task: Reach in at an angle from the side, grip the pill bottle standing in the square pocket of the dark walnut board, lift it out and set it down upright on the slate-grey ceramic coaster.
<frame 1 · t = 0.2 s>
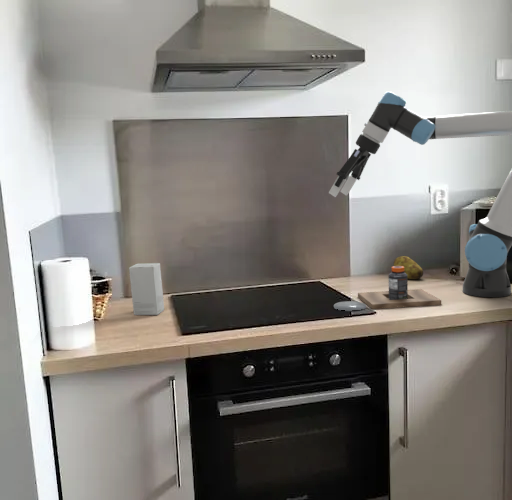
hand: (337, 194, 191), 34 cm above the worktop, tool tilted 30°, fingers open, 13 cm apart
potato: (407, 278, 217), on the worktop
coaster: (349, 307, 177), on the worktop
skincare box: (148, 313, 179), on the worktop
pill bottle: (398, 301, 182), resting in pocket board
pocket board: (398, 300, 182), on the worktop
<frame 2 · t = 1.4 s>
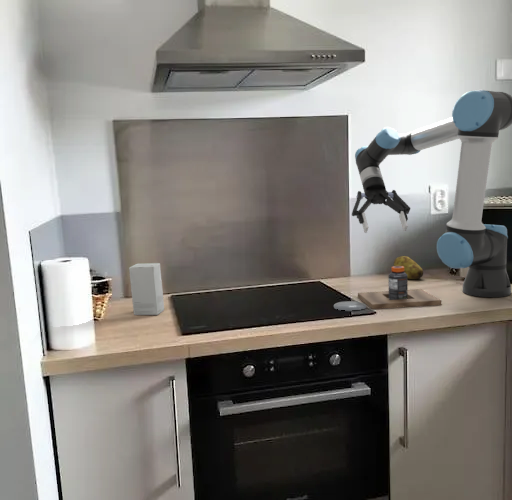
hand: (386, 229, 190), 22 cm above the worktop, tool tilted 45°, fingers open, 13 cm apart
nothing on the worktop moved.
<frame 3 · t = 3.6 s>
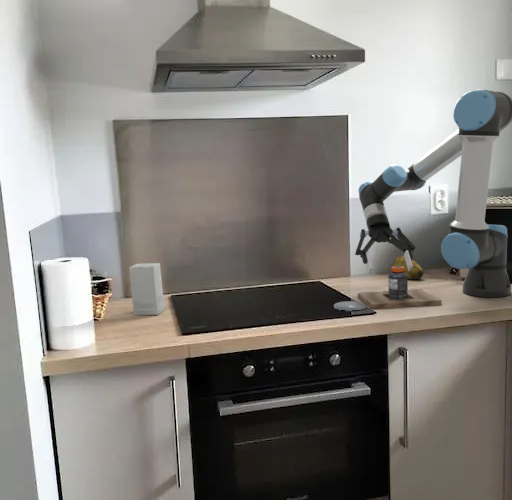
hand: (390, 269, 185), 9 cm above the worktop, tool tilted 45°, fingers open, 13 cm apart
nothing on the worktop moved.
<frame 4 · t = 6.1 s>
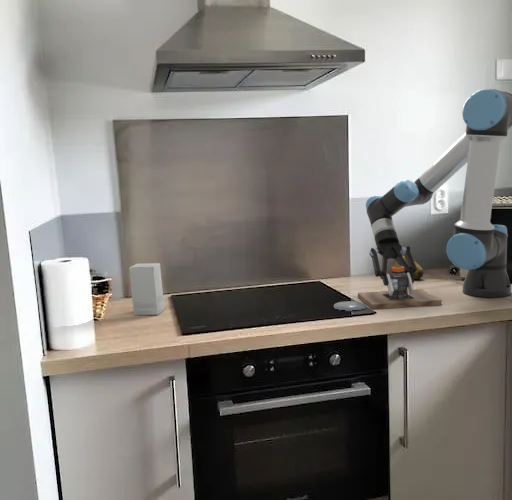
hand: (402, 292, 178), 4 cm above the worktop, tool tilted 45°, fingers closed on pill bottle, 6 cm apart
pill bottle: (398, 301, 182), resting in pocket board, touching gripper
everything else where it was.
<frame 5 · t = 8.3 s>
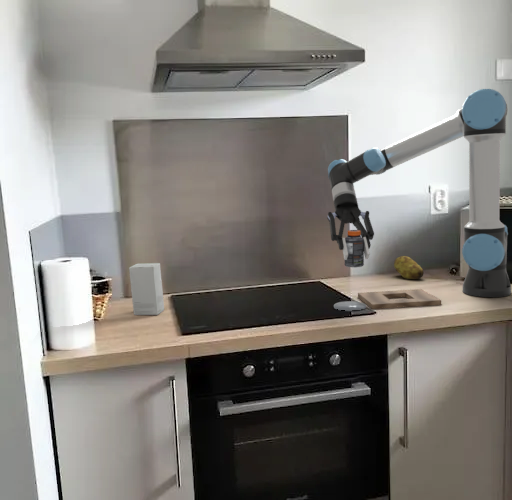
hand: (356, 256, 173), 16 cm above the worktop, tool tilted 45°, fingers closed on pill bottle, 6 cm apart
pill bottle: (354, 266, 177), point 12 cm above the worktop, touching gripper
everything else where it was.
when the fingers open (6 cm above the worktop, at t = 10.7 s): pill bottle drops 1 cm, resting on coaster.
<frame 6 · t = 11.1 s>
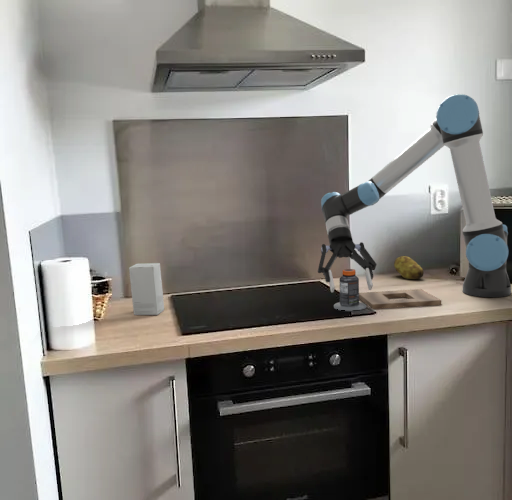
hand: (352, 288, 173), 6 cm above the worktop, tool tilted 45°, fingers open, 11 cm apart
pill bottle: (349, 305, 177), resting on coaster
everything else where it was.
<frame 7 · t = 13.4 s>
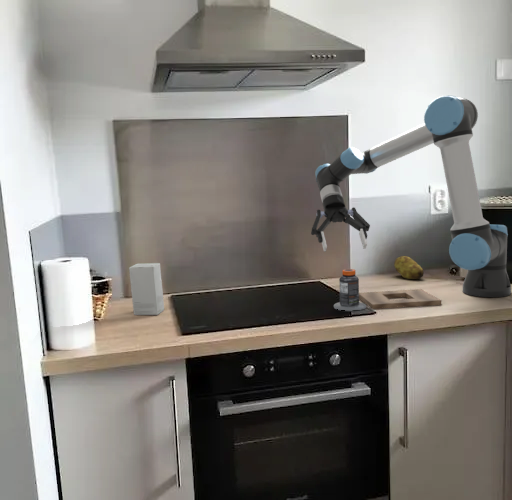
hand: (345, 247, 188), 17 cm above the worktop, tool tilted 45°, fingers open, 13 cm apart
nothing on the worktop moved.
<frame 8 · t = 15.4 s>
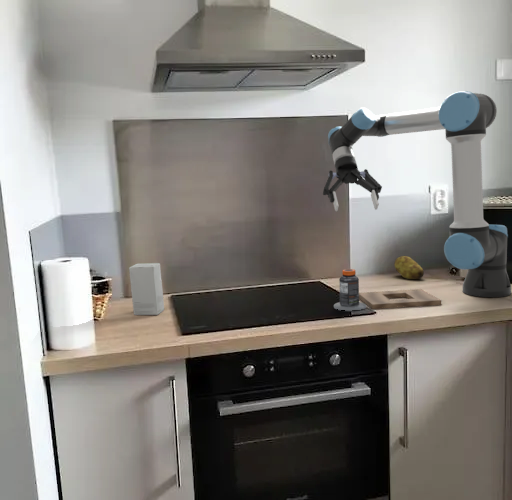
hand: (357, 207, 188), 30 cm above the worktop, tool tilted 45°, fingers open, 13 cm apart
nothing on the worktop moved.
at the end: pill bottle 0.1 cm from the coaster (horizontally); pill bottle tilted 0°; the gripper is holding nothing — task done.
